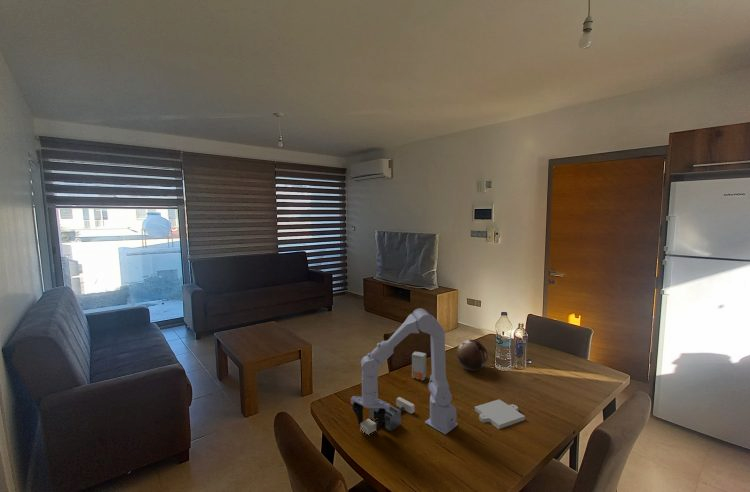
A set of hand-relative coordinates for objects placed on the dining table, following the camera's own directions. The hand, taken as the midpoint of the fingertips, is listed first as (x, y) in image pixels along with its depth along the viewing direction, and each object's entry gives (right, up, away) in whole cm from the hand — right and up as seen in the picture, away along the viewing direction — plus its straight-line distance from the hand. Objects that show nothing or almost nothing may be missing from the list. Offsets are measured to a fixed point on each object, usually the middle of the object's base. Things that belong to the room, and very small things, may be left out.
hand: (370, 425), depth 121 cm
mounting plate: (+50, -1, +9) cm, 51 cm away
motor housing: (+6, -2, +5) cm, 8 cm away
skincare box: (+23, +1, +39) cm, 45 cm away
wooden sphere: (+51, +3, +47) cm, 70 cm away
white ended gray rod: (+6, -1, +6) cm, 8 cm away
